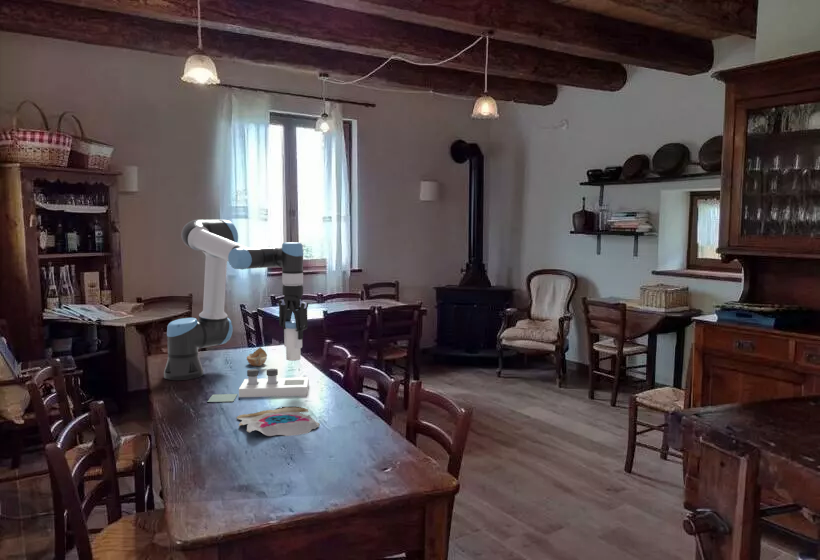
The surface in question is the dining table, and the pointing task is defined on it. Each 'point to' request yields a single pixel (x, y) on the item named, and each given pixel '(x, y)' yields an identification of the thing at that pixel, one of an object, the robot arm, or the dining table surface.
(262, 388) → the white tube rack
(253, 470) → the dining table surface
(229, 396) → the mat
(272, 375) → the plunger
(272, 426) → the rumpled printed cloth
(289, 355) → the cylinder
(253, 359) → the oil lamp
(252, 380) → the plunger
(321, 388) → the dining table surface
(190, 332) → the robot arm
